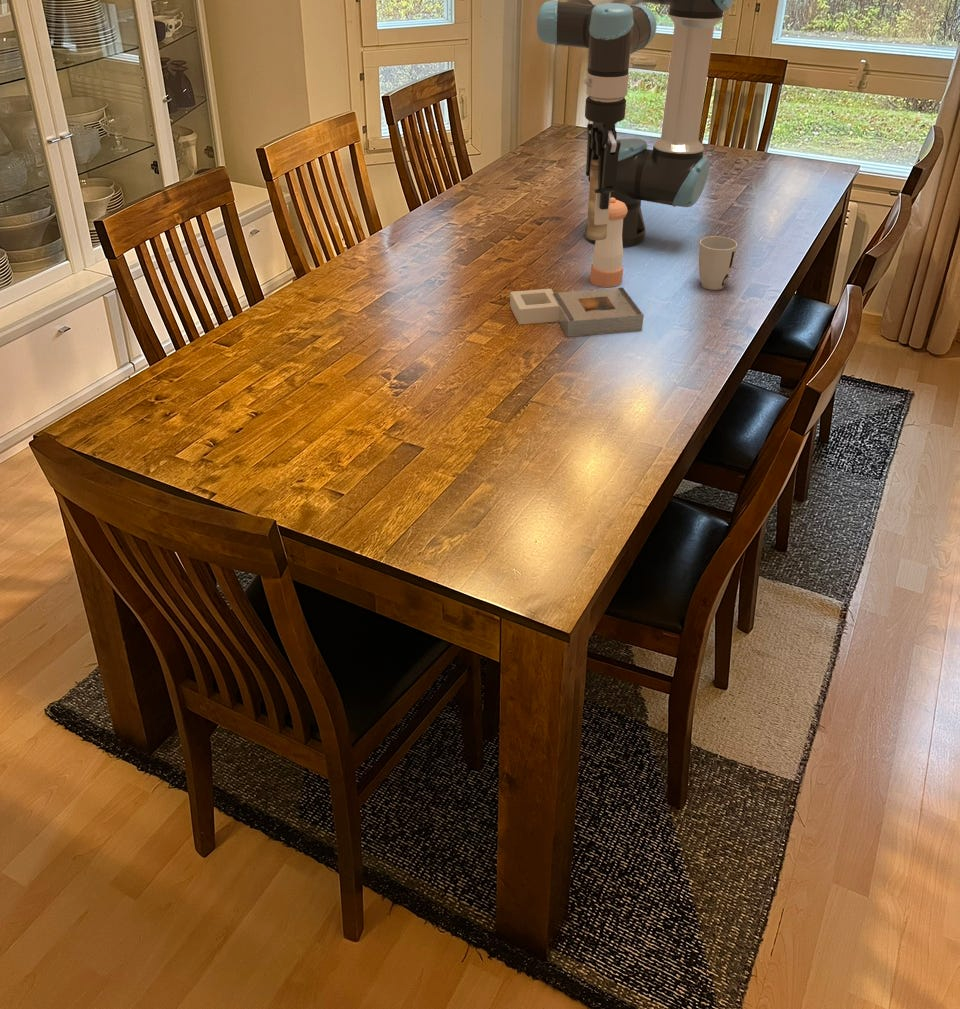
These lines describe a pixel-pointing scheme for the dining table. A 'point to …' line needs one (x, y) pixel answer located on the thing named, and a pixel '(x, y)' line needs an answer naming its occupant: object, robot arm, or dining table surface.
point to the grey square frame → (598, 312)
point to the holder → (534, 306)
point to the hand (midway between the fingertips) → (597, 219)
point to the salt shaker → (610, 249)
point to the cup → (716, 261)
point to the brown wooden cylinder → (594, 230)
